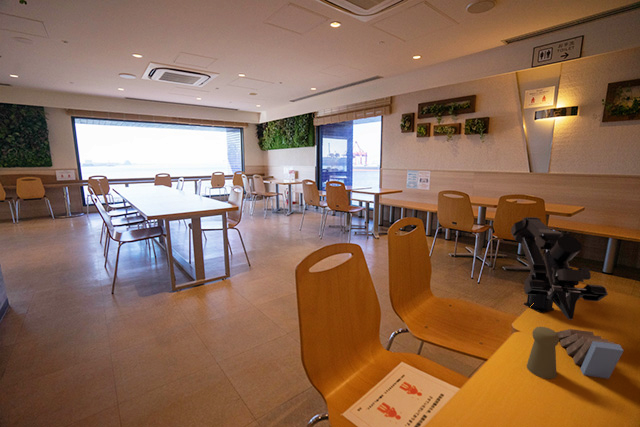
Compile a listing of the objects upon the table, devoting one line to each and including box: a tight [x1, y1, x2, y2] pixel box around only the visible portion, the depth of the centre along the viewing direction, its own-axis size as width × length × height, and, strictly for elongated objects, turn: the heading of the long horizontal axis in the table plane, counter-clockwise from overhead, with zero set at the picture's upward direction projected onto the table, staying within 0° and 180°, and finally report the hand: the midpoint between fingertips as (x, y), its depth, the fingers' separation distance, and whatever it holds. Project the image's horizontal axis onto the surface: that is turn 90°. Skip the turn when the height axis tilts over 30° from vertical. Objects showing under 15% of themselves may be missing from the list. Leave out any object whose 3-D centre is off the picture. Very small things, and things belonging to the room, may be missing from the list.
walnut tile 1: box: [555, 328, 594, 340], centre depth 83 cm, size 2×5×10 cm
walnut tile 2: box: [559, 333, 602, 348], centre depth 80 cm, size 2×5×10 cm
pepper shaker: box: [526, 326, 560, 380], centre depth 74 cm, size 6×6×11 cm
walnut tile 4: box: [572, 339, 616, 366], centre depth 74 cm, size 2×5×10 cm
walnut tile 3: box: [565, 336, 609, 357], centre depth 77 cm, size 2×5×10 cm
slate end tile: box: [579, 341, 624, 380], centre depth 71 cm, size 2×5×10 cm, turn 73°
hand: (570, 319), depth 85 cm, fingers closed
